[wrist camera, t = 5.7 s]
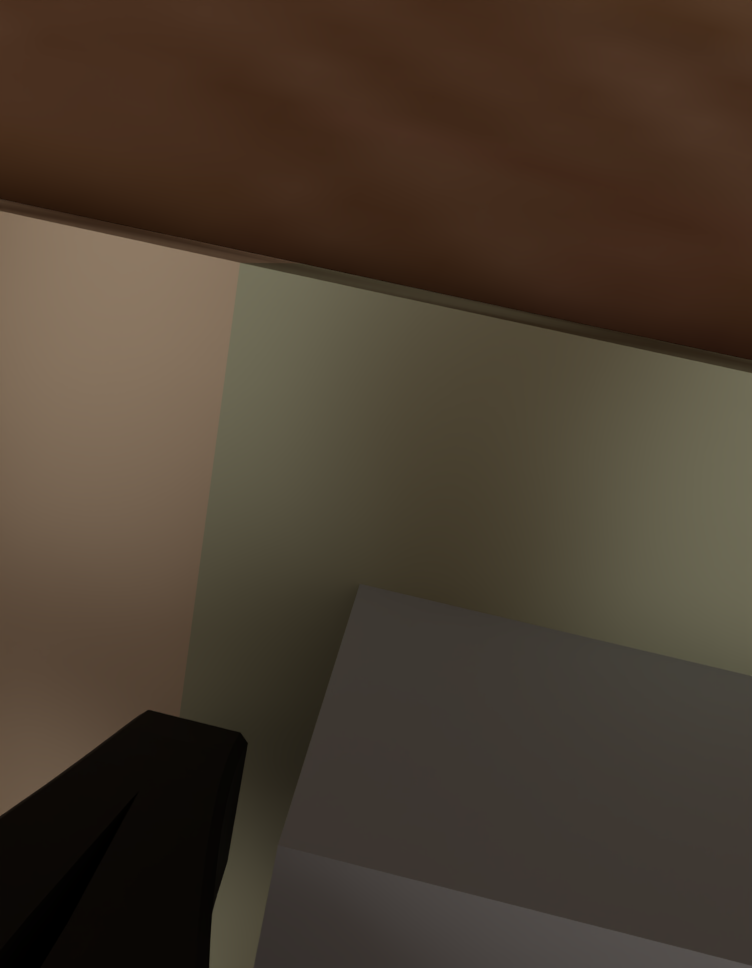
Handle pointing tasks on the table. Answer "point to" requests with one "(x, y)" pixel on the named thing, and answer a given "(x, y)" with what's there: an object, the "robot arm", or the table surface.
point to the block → (514, 803)
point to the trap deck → (323, 495)
